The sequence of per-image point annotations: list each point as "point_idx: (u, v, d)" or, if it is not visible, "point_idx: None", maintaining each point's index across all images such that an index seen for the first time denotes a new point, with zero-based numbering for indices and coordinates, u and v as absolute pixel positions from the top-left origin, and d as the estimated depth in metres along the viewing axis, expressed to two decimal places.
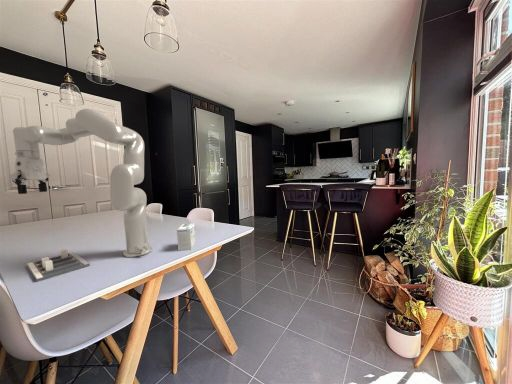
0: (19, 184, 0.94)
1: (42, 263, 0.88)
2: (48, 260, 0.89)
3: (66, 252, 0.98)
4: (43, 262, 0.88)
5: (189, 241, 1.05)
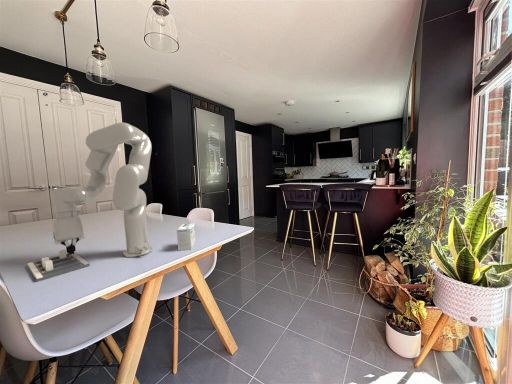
0: None
1: (42, 263, 0.88)
2: (48, 260, 0.89)
3: (64, 252, 0.98)
4: (43, 262, 0.88)
5: (189, 241, 1.05)
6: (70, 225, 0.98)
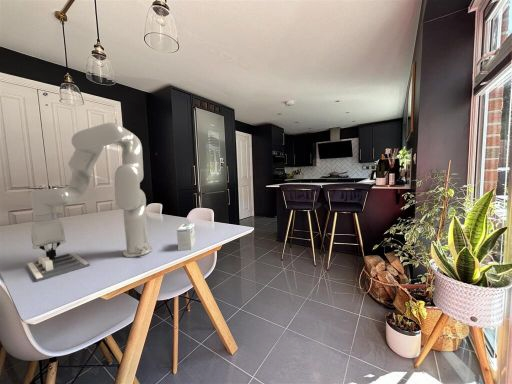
0: None
1: (42, 263, 0.88)
2: (48, 260, 0.89)
3: (44, 257, 0.92)
4: (43, 262, 0.88)
5: (189, 241, 1.05)
6: (50, 229, 0.93)
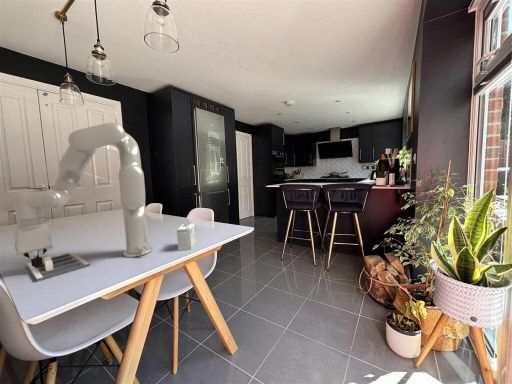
0: None
1: None
2: (50, 259, 0.89)
3: None
4: None
5: (189, 241, 1.05)
6: (35, 234, 0.85)
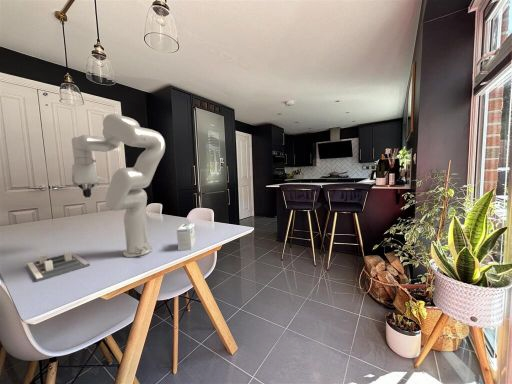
0: None
1: (64, 257, 0.94)
2: (70, 254, 0.94)
3: (45, 257, 0.92)
4: (66, 256, 0.93)
5: (189, 241, 1.05)
6: (87, 170, 1.10)
